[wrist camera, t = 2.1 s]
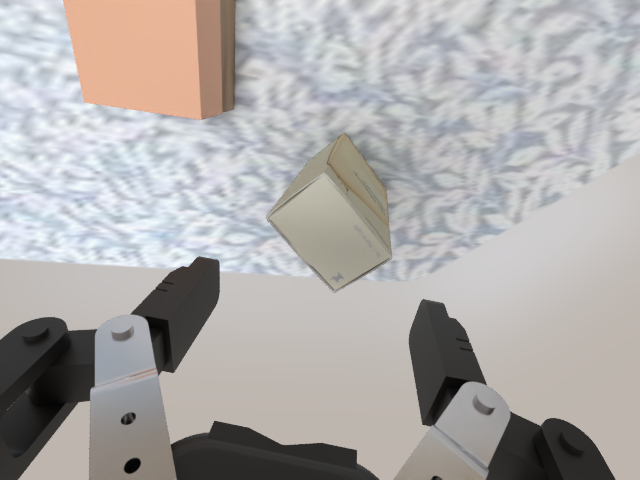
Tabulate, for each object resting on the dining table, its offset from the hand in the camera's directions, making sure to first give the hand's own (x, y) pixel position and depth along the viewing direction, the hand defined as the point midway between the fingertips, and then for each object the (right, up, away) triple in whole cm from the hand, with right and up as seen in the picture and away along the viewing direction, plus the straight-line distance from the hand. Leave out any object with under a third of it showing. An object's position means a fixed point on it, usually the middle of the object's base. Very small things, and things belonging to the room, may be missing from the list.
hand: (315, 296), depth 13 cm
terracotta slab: (-11, +16, +10) cm, 21 cm away
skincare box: (+2, +8, +16) cm, 18 cm away
